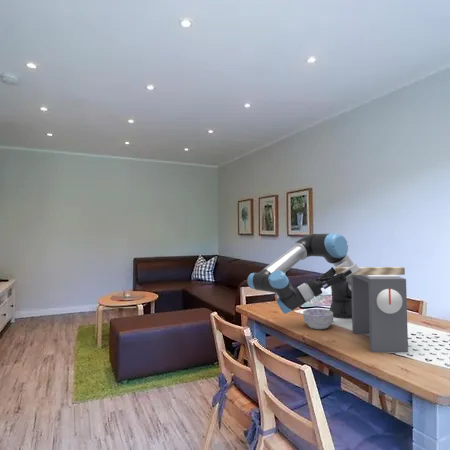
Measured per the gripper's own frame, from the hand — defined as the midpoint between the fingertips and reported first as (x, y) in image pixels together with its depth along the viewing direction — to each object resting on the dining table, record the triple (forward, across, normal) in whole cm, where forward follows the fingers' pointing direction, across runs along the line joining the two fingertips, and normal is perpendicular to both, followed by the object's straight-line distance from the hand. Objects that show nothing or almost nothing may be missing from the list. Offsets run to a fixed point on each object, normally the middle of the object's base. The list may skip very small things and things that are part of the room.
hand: (352, 265), depth 146 cm
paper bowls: (-26, -30, -26) cm, 47 cm away
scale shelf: (-7, -7, -36) cm, 38 cm away
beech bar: (+4, 0, -7) cm, 8 cm away
